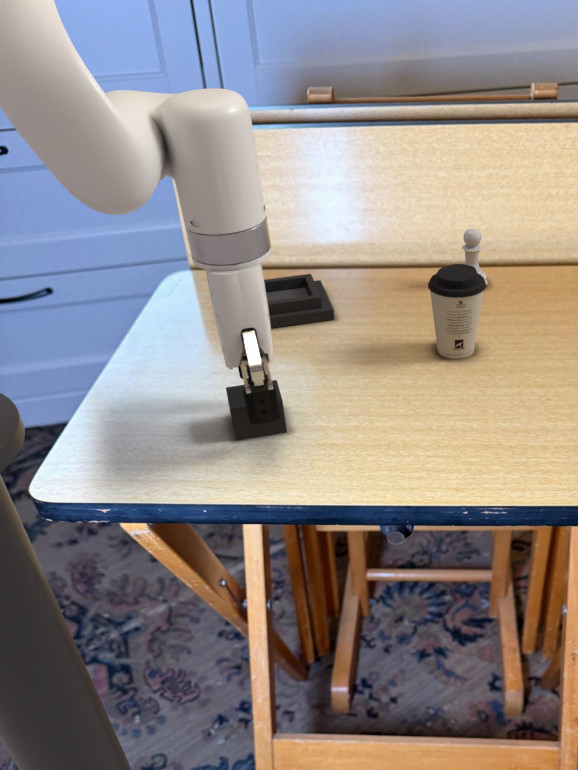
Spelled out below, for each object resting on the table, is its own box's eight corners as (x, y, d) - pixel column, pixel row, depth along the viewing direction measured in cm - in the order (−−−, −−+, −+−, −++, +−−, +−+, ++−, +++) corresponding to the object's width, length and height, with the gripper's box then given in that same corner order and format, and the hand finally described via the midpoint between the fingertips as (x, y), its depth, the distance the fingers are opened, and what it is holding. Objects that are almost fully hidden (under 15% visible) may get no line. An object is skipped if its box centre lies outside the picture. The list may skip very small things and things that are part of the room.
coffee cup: (470, 368, 96) (472, 289, 90) (418, 356, 99) (417, 279, 92) (491, 343, 101) (495, 266, 94) (442, 332, 104) (442, 257, 97)
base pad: (245, 332, 105) (242, 311, 103) (238, 301, 113) (234, 280, 111) (334, 319, 107) (332, 298, 105) (321, 289, 115) (319, 269, 113)
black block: (235, 440, 86) (229, 408, 83) (231, 418, 89) (225, 387, 87) (287, 432, 87) (282, 400, 84) (281, 410, 90) (276, 379, 88)
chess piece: (477, 275, 117) (479, 220, 112) (493, 287, 114) (496, 231, 108) (448, 281, 115) (449, 226, 110) (464, 294, 112) (466, 237, 107)
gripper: (184, 215, 80) (218, 366, 92) (194, 282, 68) (232, 447, 79) (258, 205, 82) (282, 355, 93) (282, 269, 69) (306, 434, 80)
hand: (259, 397), depth 86 cm, fingers open, 9 cm apart
